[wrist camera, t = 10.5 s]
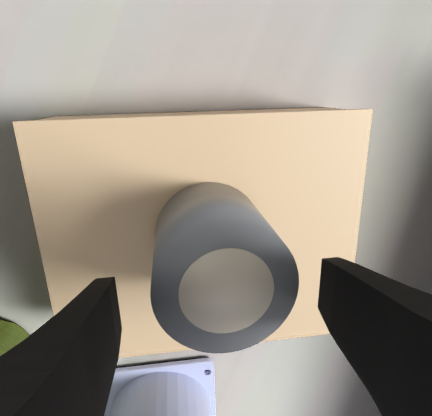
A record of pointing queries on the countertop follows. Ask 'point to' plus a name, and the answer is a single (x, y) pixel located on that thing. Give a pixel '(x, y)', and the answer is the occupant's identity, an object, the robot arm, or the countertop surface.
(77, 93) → the countertop surface
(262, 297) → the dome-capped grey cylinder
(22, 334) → the plant pot
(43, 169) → the box lid
